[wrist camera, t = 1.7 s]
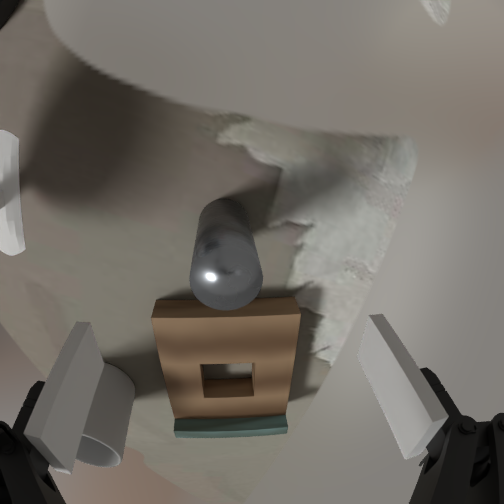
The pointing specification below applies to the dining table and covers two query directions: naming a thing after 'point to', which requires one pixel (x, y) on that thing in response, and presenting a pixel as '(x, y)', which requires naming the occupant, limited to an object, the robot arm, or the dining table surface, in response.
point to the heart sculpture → (10, 196)
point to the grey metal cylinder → (225, 257)
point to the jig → (226, 352)
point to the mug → (107, 419)
